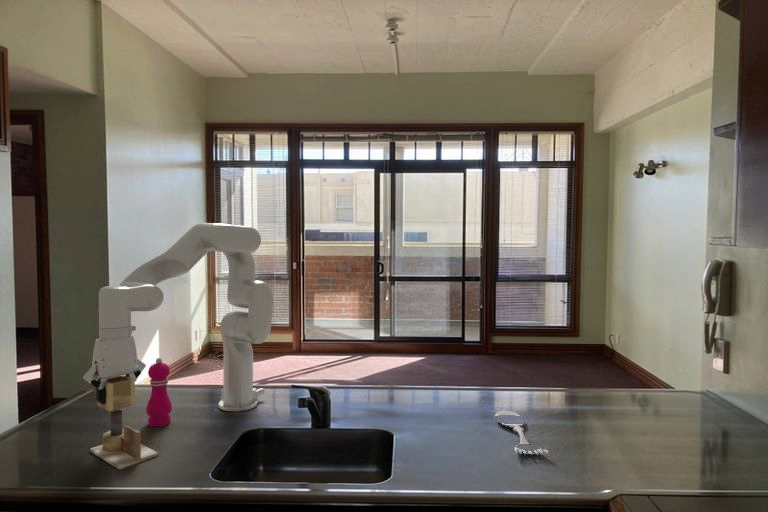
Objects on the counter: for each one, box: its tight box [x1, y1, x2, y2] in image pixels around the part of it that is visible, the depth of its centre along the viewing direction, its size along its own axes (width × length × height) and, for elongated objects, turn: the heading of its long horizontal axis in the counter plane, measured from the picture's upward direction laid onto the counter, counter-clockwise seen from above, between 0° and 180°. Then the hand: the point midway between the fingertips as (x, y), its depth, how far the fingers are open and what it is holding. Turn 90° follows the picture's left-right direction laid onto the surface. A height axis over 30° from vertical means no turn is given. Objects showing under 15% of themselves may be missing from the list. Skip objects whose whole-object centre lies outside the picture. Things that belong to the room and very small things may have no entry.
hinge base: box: [89, 409, 159, 470], centre depth 138 cm, size 16×10×10 cm, turn 52°
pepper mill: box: [145, 357, 173, 427], centre depth 159 cm, size 7×7×20 cm
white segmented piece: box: [494, 410, 549, 456], centre depth 154 cm, size 9×32×4 cm, turn 179°
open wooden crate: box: [92, 375, 136, 412], centre depth 142 cm, size 16×7×7 cm, turn 52°
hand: (116, 398), depth 140 cm, fingers closed on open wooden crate, 6 cm apart
